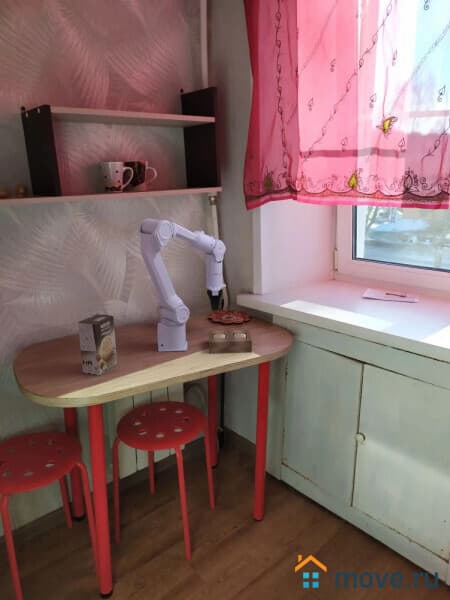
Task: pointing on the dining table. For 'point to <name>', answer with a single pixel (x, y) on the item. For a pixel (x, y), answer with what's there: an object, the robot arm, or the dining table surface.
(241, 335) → the right peg
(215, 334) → the left peg
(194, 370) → the dining table surface
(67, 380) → the dining table surface
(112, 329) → the coffee box
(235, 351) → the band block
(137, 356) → the dining table surface
